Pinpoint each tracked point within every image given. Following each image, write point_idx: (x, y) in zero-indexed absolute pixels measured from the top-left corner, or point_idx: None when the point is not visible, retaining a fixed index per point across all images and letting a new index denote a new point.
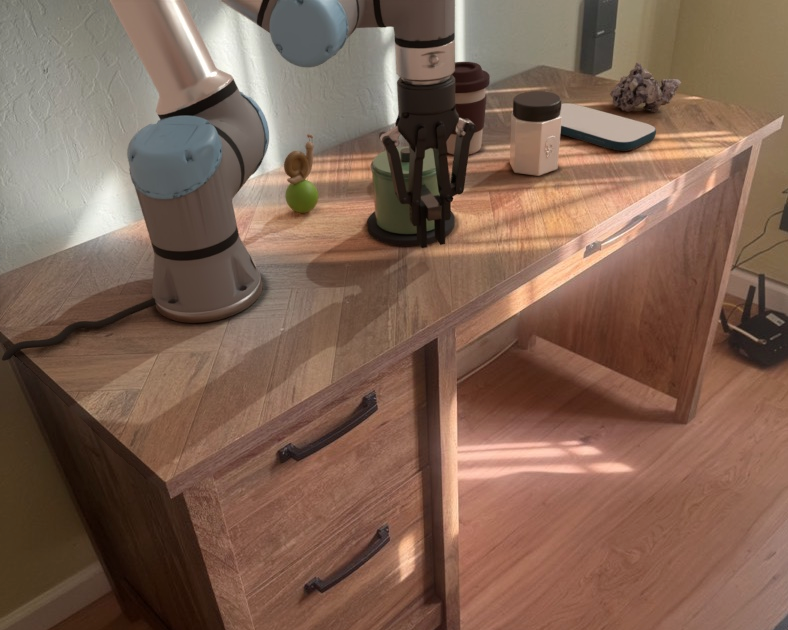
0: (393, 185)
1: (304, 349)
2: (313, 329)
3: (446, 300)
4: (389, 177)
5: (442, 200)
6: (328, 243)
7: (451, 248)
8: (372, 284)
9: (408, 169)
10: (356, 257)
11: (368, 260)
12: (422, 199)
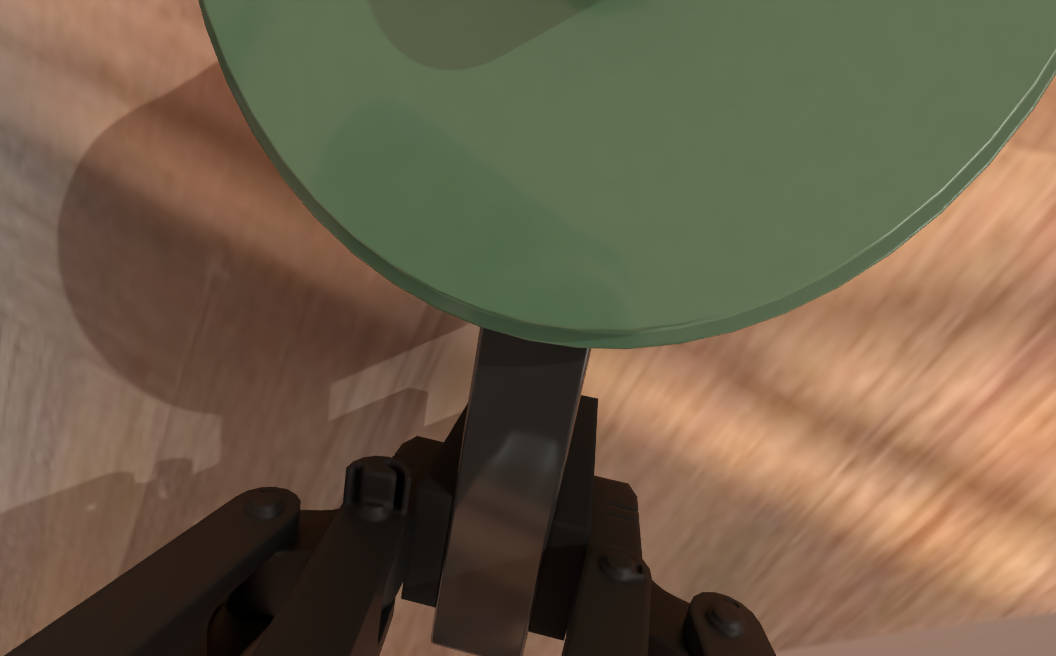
0: (168, 545)
1: (16, 620)
2: (46, 558)
3: (449, 653)
4: (285, 175)
5: (569, 609)
6: (181, 21)
7: (654, 380)
8: (265, 444)
9: (479, 191)
10: (264, 225)
11: (302, 277)
12: (454, 527)
